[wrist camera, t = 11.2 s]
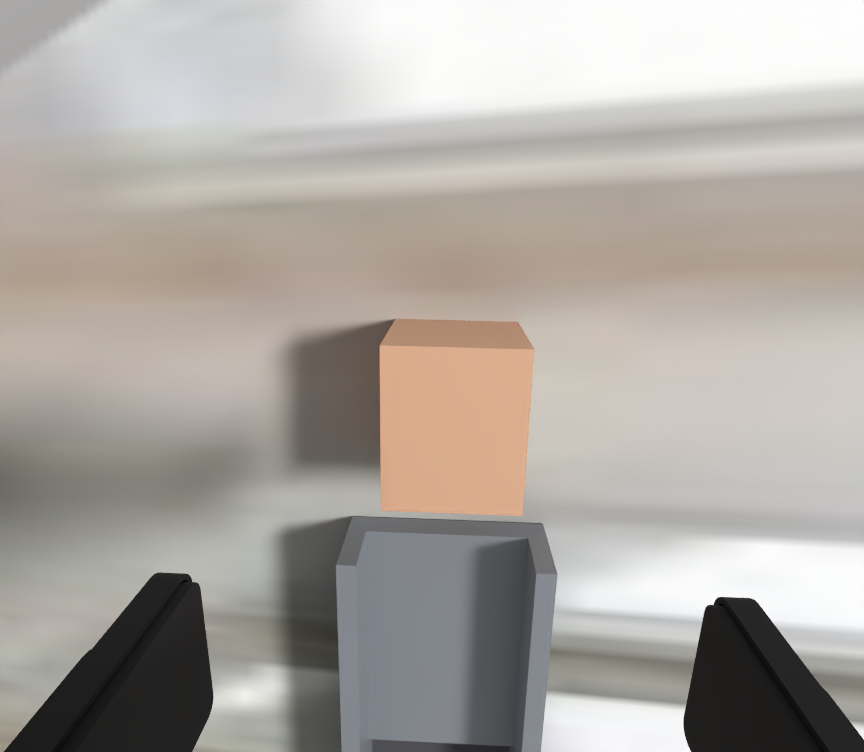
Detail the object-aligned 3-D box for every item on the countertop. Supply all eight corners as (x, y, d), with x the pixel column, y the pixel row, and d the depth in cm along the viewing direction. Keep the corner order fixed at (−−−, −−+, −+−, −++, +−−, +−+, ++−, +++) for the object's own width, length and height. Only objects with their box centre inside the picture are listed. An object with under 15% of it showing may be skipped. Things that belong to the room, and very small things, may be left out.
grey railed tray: (515, 847, 30) (523, 931, 27) (359, 839, 31) (347, 920, 27) (542, 523, 25) (557, 574, 21) (352, 516, 25) (335, 565, 22)
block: (522, 516, 20) (534, 349, 18) (380, 510, 20) (379, 345, 18) (509, 457, 24) (517, 321, 23) (395, 453, 25) (395, 318, 23)
